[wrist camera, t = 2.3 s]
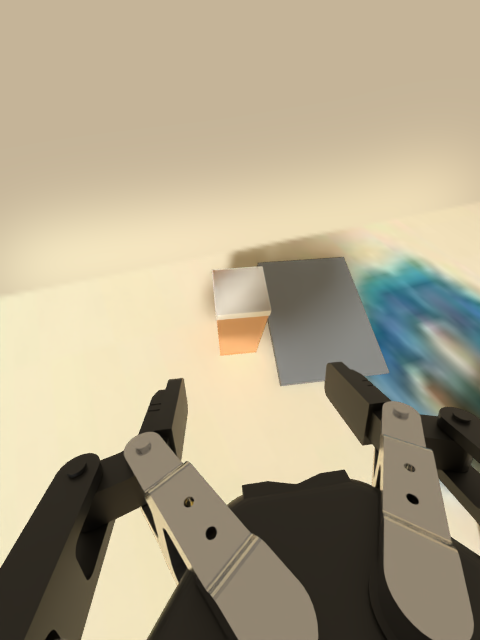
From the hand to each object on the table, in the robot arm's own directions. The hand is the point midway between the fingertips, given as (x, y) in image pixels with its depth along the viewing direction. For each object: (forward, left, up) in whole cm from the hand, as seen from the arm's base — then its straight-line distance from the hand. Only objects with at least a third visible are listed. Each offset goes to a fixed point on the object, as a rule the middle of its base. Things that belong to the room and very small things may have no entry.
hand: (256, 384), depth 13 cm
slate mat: (+10, +9, -12) cm, 18 cm away
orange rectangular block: (0, +7, -12) cm, 14 cm away
